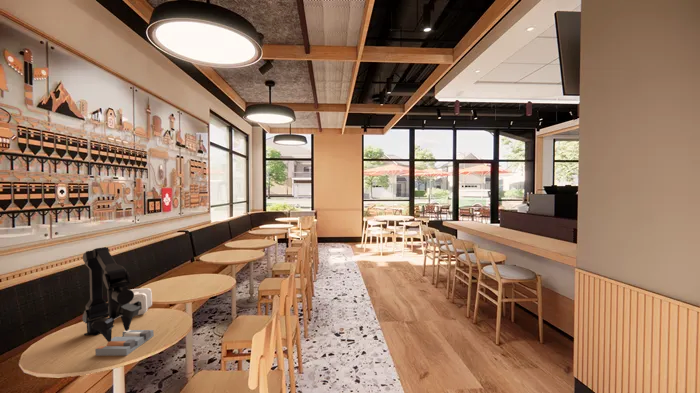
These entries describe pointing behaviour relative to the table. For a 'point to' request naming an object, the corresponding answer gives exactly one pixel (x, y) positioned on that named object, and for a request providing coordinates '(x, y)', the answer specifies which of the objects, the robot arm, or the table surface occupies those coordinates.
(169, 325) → the table surface
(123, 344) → the orange-handled mallet
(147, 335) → the white-handled mallet
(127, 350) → the ribbed grooved tray
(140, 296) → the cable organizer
